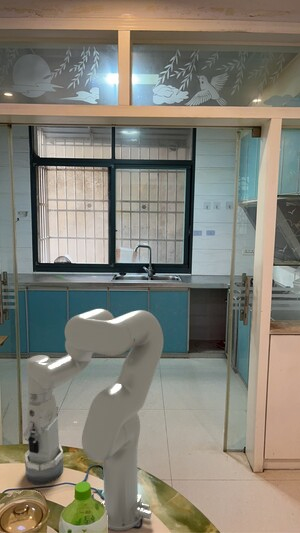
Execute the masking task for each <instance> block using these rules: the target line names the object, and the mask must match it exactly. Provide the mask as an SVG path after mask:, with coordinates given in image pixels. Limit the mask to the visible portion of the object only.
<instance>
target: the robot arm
mask: <svg viewBox="0 0 300 533" xmlns="http://www.w3.org/2000/svg"><path fill="white" fill-rule="evenodd" d="M64 336H65V342H64V348H65V351H66V353H67V354H66V355H65V356H62V357H60V358H58V359H55V360H53V361H52V360H51V358H50V357H49V356H48V355H45V354H43V355H42V354H39V355H33V356H31V357H29V359H27V361H26V376H27V378H26V379H27V394H28V395H27V396H28V403H27V404H28V405H27V428H25V431H24V433H23V435H22V436H23V437H24V439H25V441H27V442H28V441H29V444H28V450H29V451H30V452H33V453H38V452H39V445H38V441H37V439H38V435H39V434H40V435H41V434H43V433H44V429H45V428H46V427H47V426H48V425H49V424H50V423H51V422H52V421H53V420H54V419H55V418H57V419H58V416H59V415H58V412H59V406H57V402H56V398H55V397H56V396H55V395H54V392H53V390H54V389H56V388H57V387H60V386H61V385H64V384H65V383H67V382H69V381H71V380H73V379H76V378H77V377H78V376H80V374H81V373H82V372H83V371H84V370H85V369H86V368H87V367H88V366H89V365H90V363H91V361H92V357H93V356H92V355H94V354H99V355H105V356H118V355H122V354H124V353H126V352H128V351H129V352H128V354H127V356H126V357H125V358H124V361H123V363H122V367H121V370H120V373H119V376H118V377H117V379H116V380H115V381H114V382H113V383H111V384H110V385H109V386H107V387H106V388H104V389H102V390H101V391H100V392H98V393H97V394H96V395H95V397H94V398H93V400H92V402H91V404H90V407H89V409H88V413H87V417H86V420H85V422H84V425H83V426H84V427H83V430H82V434H81V435H82V436H81V446H82V450H83V453H84V454H85V456H86V457H87V458H88V460H90V461H92V462H94V463H103V464H102V466H103V467H102V468H103V472H102V473H103V497H104V500H103V501H102V502H101V504H102V503H103V504H104V506H105V508H106V510H107V515H108V528H107V529H110V530H111V531H112V530H113V531H117V532H118V531H126V530H130V529H132V528H134V527H135V526H137V525H138V524H139V523H140V521H141V520H142V518H144V519H147V520H151V518H152V511H151V510H150V509H151V504H149V503H144V502H143V501H142V495H141V494H138V489H139V488H138V487H139V486H138V483H139V482H138V448H139V447H138V444H139V439H140V431H141V421H140V417H139V415H138V414H139V411H140V410H142V408H143V407H144V404H145V403H146V399H147V396H148V394H149V391H150V388H151V385H152V382H153V379H154V376H155V372H156V370H157V368H158V365H159V362H160V359H161V357H162V354H163V349H164V334H163V330H162V326H161V324H160V323H159V320H158V319H157V318H156V317H155V315H153V314H152V313H151V312H150V311H147V310H142V309H139V310H135V311H134V310H133V311H130V312H127V313H124V314H122V315H120V316H117V317H114V315H113V314H112V313H111V312H110V311H109V310H107V309H104V308H94V309H91V310H88V311H86V312H83V313H80V314H77V315H74V316H73V317H71V318H70V319H69V320H68V321H67V323H66V324H65V328H64ZM33 428H35V431H33ZM33 433H35V437H34V438H33V437H32V435H33Z"/></svg>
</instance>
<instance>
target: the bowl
mask: <svg viewBox="0 0 300 533" xmlns="http://www.w3.org/2000/svg"><path fill="white" fill-rule="evenodd" d="M24 465H25V477H26V478H25V479H26V480H27V481H28V482H29V483H30V484H31V485H32V484H33V485H38V486H39V485H40V486H43V485H48V484H51V483H53V482H54V481H56V480H58V479H59V478H60V477H61V476H62V474H63V472H64V450H63V448H62V445H61V444H59V454H58V455H57V457H56V458H55V459H54V460H53V461H50V462H46V463H43V464H36V463H32V462H30V458H29V449H28V450H27V451H26V452H25V453H24Z"/></svg>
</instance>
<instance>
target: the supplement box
mask: <svg viewBox="0 0 300 533" xmlns="http://www.w3.org/2000/svg"><path fill="white" fill-rule="evenodd" d="M33 431H35V428H33ZM32 437H33V438H34V437H35V433H33V435H32ZM37 441H38V445H39V452H38V453H33V452H30V451H29V458H30V462H32V463H36V464H43V463H46V462H50V461H53V460H54V459H55V458H56V457H57V455H58V454H59V445H60V437H59V420H58V417H57V418H55V419H54V420H53V421H52V422H51V423H50V424H49V425H48V426H47V427H46V428H45V429H44V433H43V434H41V435H40V434H39V435H38V439H37ZM27 443H28V444H27V445H29V441H27Z"/></svg>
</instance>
